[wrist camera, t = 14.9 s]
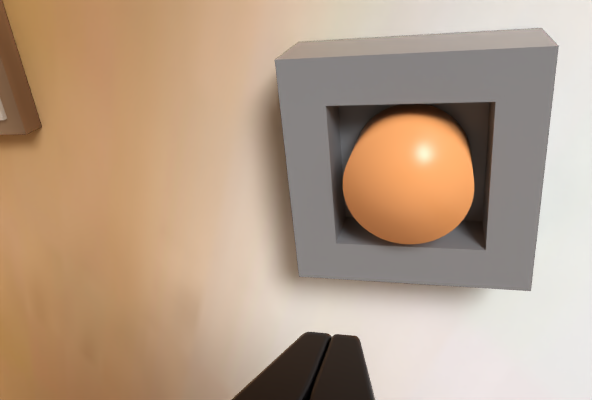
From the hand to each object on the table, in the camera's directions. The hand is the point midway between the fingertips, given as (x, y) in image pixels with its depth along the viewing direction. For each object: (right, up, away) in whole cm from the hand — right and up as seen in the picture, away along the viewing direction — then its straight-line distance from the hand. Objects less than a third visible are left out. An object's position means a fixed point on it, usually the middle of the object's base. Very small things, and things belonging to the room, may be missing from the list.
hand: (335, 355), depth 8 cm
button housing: (+4, +4, +11) cm, 13 cm away
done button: (+3, +4, +10) cm, 12 cm away
